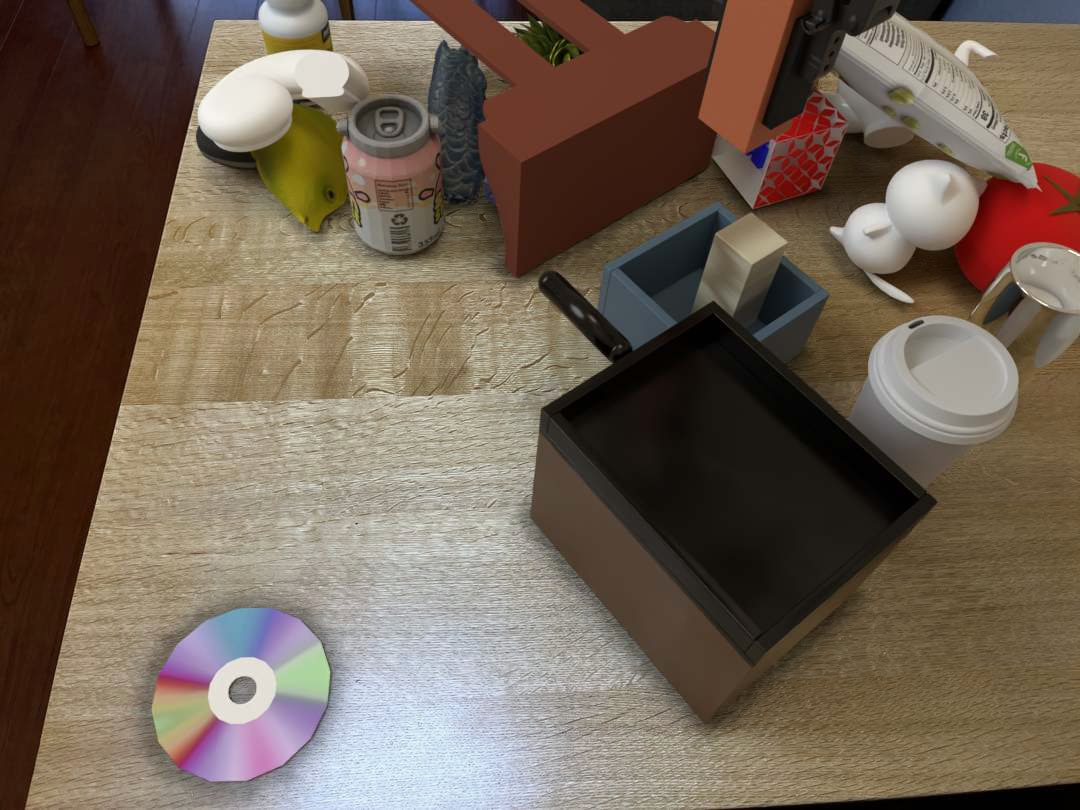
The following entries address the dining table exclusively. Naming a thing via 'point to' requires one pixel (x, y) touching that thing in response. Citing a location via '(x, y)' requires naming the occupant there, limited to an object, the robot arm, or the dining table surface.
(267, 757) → the cd
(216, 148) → the computer mouse
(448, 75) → the fish model
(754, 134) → the terracotta block
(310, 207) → the fish
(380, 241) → the beverage can
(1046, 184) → the tomato
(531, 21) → the potted plant
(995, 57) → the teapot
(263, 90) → the sculpture
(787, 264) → the bin
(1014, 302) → the metal tumbler
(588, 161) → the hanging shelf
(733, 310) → the cream block
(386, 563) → the dining table surface
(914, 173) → the cat figurine
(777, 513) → the pan
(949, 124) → the frozen beans
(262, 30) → the pill bottle
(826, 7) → the robot arm
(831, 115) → the red white patterned box
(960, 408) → the coffee cup
